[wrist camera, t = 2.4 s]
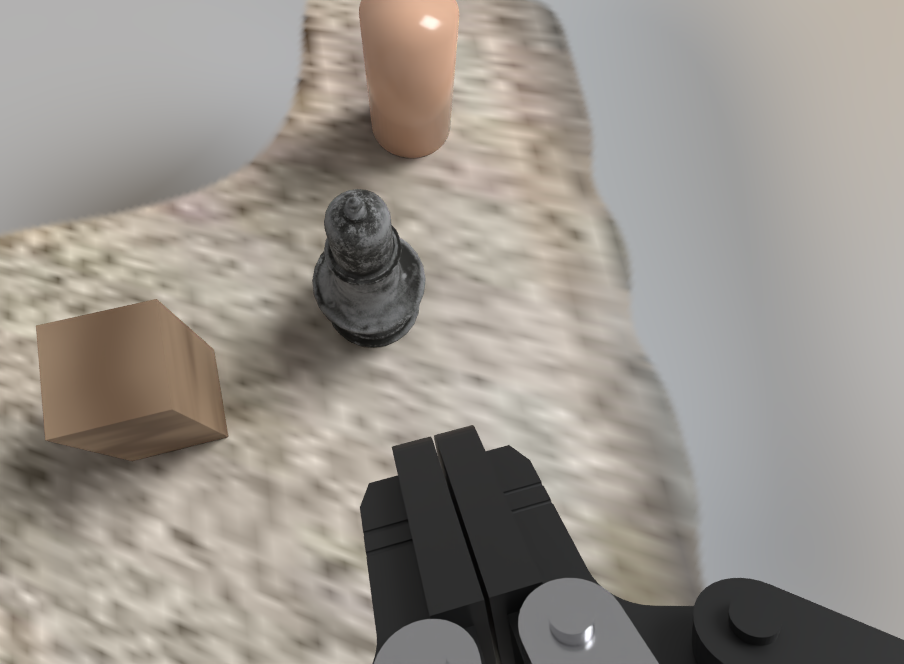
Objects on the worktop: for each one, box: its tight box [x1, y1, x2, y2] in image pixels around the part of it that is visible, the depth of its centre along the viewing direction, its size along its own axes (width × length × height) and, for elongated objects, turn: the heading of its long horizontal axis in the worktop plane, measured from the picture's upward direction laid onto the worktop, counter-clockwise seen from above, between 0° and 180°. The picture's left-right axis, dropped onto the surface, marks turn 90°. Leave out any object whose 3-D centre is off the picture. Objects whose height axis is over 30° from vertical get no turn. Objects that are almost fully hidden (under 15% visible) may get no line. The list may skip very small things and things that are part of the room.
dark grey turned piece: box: [312, 189, 425, 347], centre depth 30 cm, size 6×6×12 cm
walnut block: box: [36, 299, 228, 461], centre depth 30 cm, size 5×5×8 cm
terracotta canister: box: [359, 0, 459, 158], centre depth 35 cm, size 5×5×9 cm
